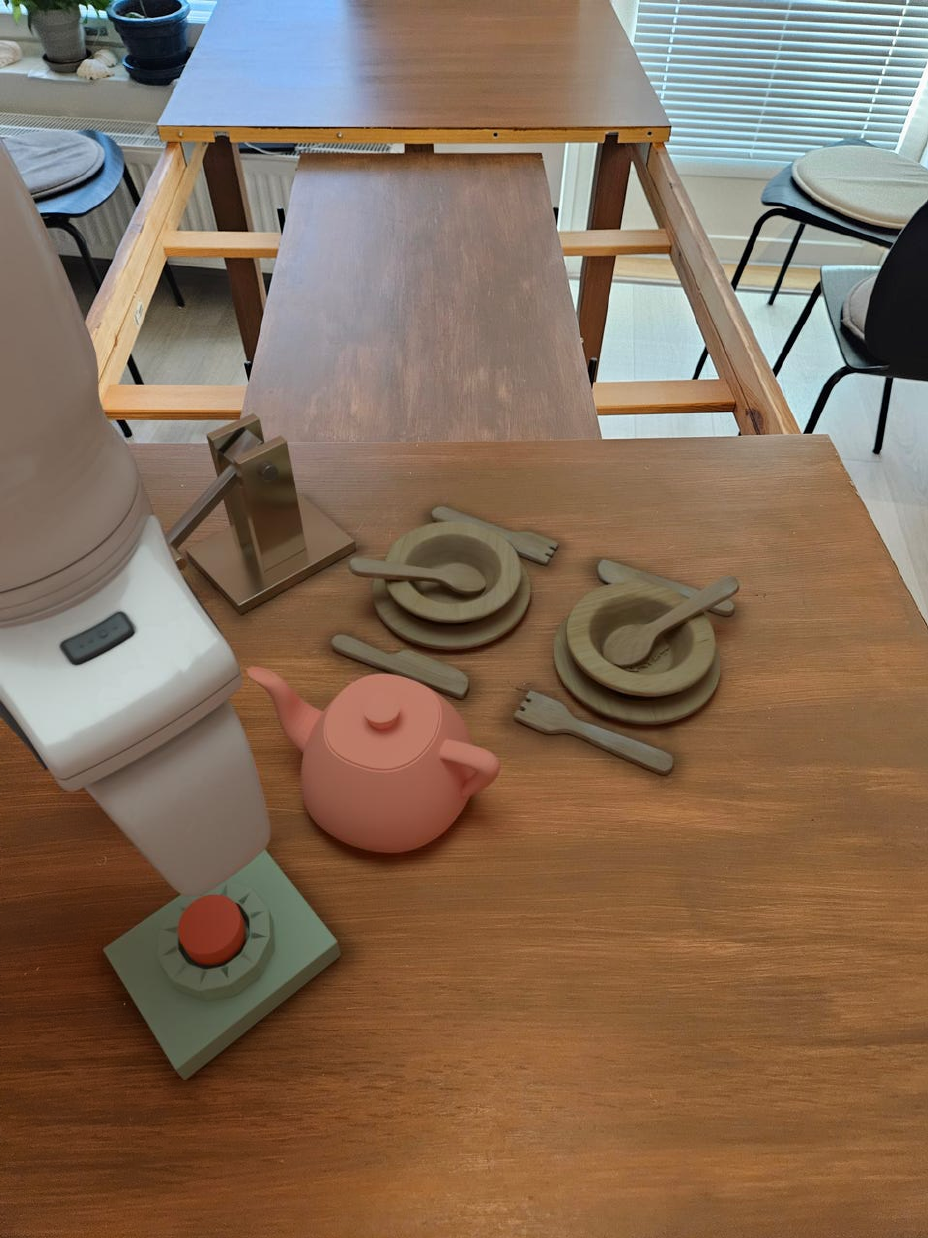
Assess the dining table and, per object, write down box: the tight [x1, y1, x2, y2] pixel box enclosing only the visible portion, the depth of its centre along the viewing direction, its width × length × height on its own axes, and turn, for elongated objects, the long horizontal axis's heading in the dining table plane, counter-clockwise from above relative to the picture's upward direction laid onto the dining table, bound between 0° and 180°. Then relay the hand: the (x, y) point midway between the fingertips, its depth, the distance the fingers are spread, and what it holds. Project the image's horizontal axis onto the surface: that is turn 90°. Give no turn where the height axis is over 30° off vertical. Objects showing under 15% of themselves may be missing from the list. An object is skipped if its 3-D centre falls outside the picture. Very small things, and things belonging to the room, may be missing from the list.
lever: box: [165, 429, 264, 571], centre depth 71 cm, size 12×5×2 cm, turn 131°
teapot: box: [246, 666, 501, 854], centre depth 61 cm, size 12×18×10 cm
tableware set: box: [331, 506, 740, 776], centre depth 72 cm, size 30×20×6 cm, turn 64°
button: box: [178, 895, 246, 966], centre depth 52 cm, size 4×4×2 cm
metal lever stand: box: [185, 413, 357, 615], centre depth 75 cm, size 12×9×13 cm
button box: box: [102, 848, 342, 1081], centre depth 54 cm, size 11×9×4 cm
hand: (144, 777), depth 42 cm, fingers closed
